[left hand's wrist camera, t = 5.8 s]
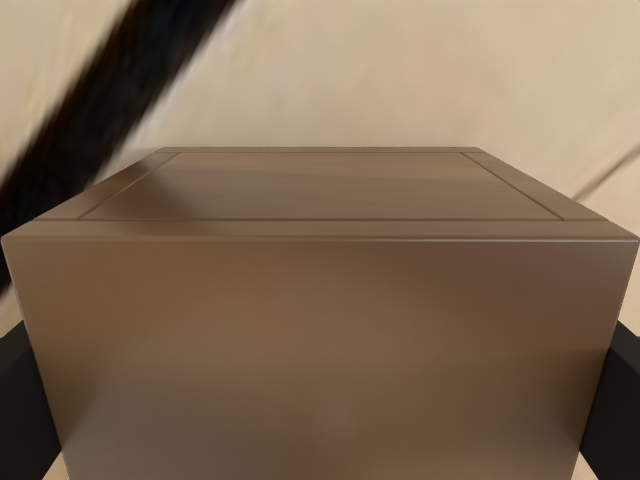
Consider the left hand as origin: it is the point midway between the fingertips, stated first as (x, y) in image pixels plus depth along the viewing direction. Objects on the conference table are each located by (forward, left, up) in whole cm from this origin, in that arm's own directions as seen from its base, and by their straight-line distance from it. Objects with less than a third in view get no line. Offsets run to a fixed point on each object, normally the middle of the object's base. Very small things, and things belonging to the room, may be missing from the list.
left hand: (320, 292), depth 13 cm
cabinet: (+6, -1, -4) cm, 7 cm away
